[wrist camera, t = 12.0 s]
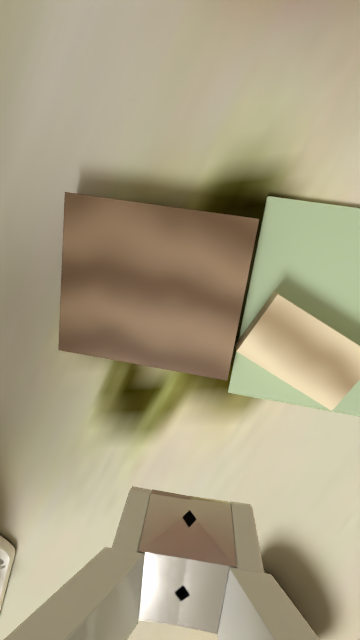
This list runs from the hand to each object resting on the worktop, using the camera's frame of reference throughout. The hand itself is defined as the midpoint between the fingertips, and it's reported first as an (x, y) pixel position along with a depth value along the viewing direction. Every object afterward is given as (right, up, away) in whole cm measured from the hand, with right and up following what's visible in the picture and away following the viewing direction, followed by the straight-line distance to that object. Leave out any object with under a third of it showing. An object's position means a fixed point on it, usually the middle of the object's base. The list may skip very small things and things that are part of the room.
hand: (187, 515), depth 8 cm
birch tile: (+11, +2, +20) cm, 23 cm away
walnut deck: (-3, +8, +21) cm, 22 cm away
